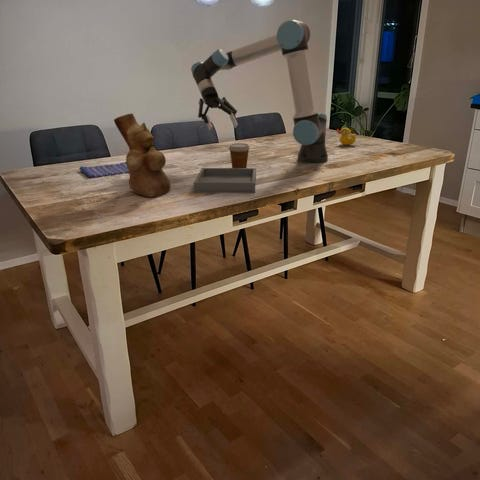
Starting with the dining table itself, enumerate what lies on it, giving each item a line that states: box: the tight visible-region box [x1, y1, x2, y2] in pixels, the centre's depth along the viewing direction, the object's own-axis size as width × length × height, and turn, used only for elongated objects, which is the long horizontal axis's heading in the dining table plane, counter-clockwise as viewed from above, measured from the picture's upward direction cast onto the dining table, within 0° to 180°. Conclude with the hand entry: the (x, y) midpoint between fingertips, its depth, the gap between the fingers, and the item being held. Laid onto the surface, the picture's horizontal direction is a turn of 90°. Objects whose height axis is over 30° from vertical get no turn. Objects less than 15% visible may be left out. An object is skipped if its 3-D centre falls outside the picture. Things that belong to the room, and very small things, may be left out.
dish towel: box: [78, 161, 129, 179], centre depth 213 cm, size 17×24×3 cm
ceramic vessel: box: [113, 112, 172, 198], centre depth 177 cm, size 16×22×30 cm
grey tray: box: [193, 167, 257, 194], centre depth 191 cm, size 24×24×4 cm
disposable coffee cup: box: [228, 142, 250, 168], centre depth 210 cm, size 10×10×12 cm
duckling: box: [336, 127, 357, 146], centre depth 266 cm, size 11×5×10 cm, turn 62°
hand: (223, 127), depth 215 cm, fingers open, 13 cm apart
